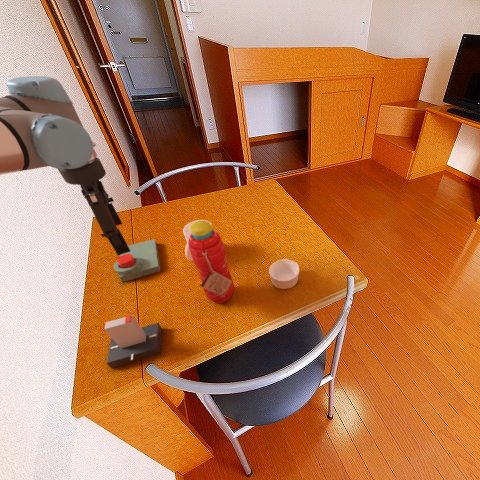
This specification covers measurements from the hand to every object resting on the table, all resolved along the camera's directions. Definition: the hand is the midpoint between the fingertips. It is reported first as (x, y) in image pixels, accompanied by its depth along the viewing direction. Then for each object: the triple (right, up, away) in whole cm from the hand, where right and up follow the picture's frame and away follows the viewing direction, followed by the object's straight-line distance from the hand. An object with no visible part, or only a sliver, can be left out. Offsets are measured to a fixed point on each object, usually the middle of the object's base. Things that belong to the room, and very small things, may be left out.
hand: (120, 238), depth 72 cm
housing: (-4, -7, +14) cm, 16 cm away
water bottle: (+25, -17, +4) cm, 31 cm away
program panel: (+9, -26, -7) cm, 28 cm away
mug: (+14, -6, +17) cm, 23 cm away
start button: (-4, -7, +8) cm, 12 cm away
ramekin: (+42, -13, +11) cm, 45 cm away
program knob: (+10, -24, -9) cm, 27 cm away
